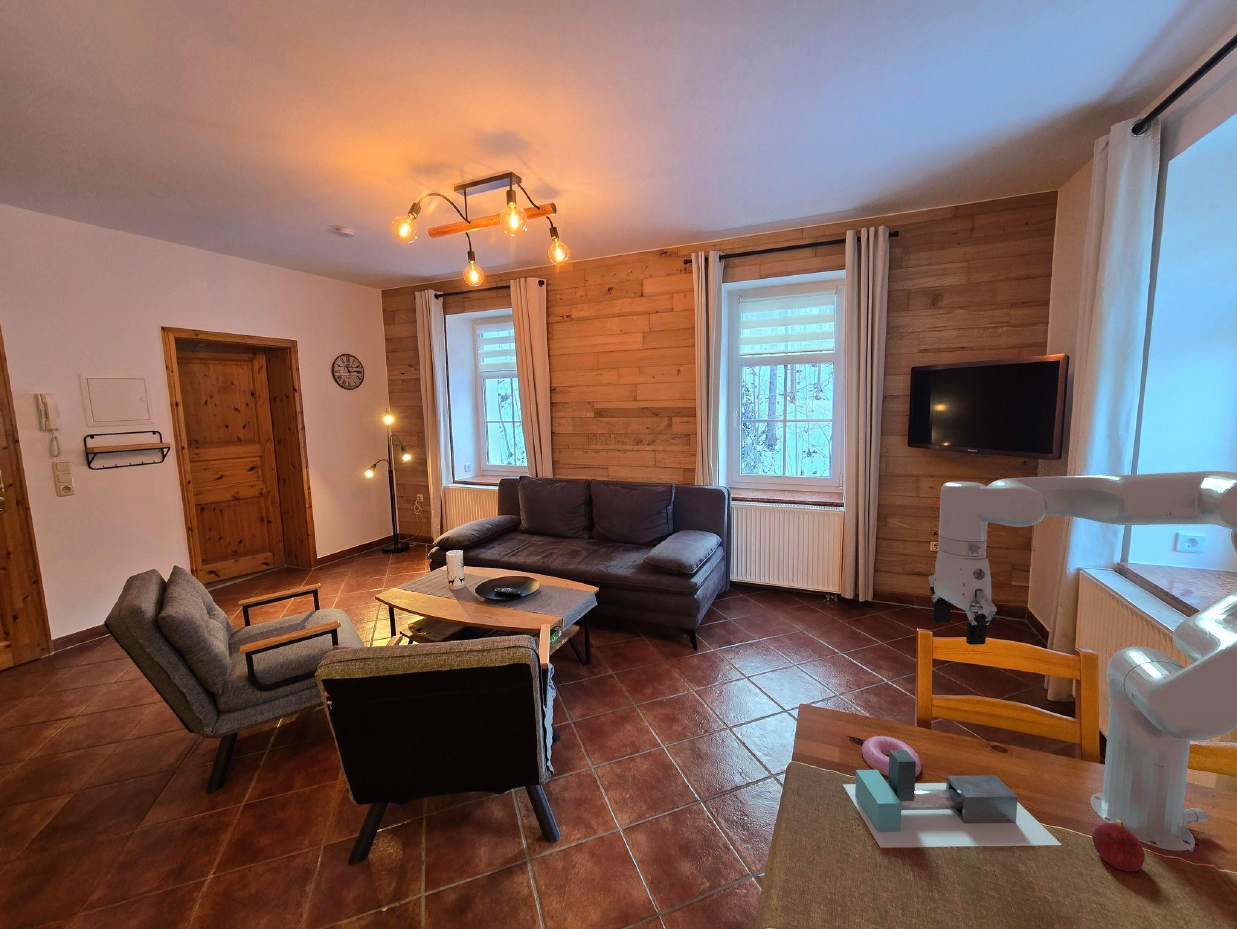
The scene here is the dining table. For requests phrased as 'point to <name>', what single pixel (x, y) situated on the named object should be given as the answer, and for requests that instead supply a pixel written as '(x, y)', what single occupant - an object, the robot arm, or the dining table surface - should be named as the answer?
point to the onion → (1118, 846)
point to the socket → (878, 801)
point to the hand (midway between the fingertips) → (957, 632)
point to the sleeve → (984, 799)
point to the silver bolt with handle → (904, 786)
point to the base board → (956, 828)
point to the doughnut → (879, 747)
